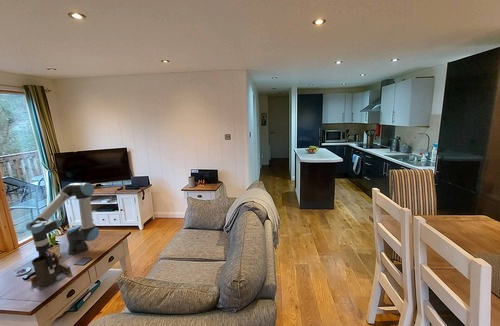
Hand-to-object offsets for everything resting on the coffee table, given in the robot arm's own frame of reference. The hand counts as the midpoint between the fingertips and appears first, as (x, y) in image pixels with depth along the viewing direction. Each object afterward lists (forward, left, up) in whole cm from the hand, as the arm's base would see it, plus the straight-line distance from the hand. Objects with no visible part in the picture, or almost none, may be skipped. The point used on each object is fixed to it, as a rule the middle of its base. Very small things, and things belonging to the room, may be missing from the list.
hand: (48, 271), depth 175 cm
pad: (0, 0, -9) cm, 9 cm away
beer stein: (0, 0, -7) cm, 7 cm away
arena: (-1, -2, -9) cm, 9 cm away
